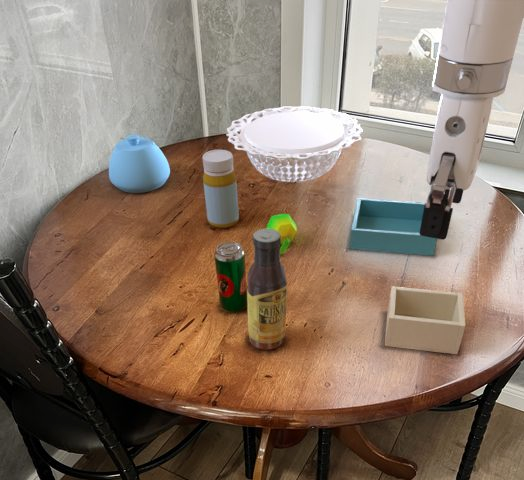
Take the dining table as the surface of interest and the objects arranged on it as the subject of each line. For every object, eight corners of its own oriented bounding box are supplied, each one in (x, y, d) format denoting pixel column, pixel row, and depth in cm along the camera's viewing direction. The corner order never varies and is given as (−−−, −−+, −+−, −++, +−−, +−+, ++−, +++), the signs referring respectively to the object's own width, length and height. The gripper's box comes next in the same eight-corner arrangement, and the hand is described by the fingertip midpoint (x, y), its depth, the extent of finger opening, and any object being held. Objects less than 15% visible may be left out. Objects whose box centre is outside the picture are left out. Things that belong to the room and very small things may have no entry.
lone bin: (455, 321, 93) (462, 293, 89) (457, 354, 87) (465, 326, 83) (387, 313, 95) (391, 286, 91) (384, 346, 89) (389, 317, 85)
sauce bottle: (261, 357, 88) (256, 252, 74) (241, 336, 92) (233, 233, 78) (294, 342, 90) (295, 238, 77) (274, 322, 94) (271, 220, 81)
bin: (432, 221, 117) (436, 203, 114) (433, 256, 107) (437, 236, 104) (355, 216, 120) (357, 197, 117) (349, 248, 110) (351, 229, 107)
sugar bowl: (99, 190, 134) (88, 144, 126) (131, 166, 144) (122, 121, 136) (152, 199, 129) (144, 151, 122) (181, 173, 140) (175, 127, 132)
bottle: (242, 214, 122) (237, 149, 112) (235, 230, 117) (230, 163, 107) (212, 212, 124) (205, 148, 113) (204, 228, 119) (196, 162, 108)
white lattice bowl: (378, 200, 125) (385, 146, 116) (245, 221, 120) (242, 166, 111) (332, 147, 148) (334, 99, 139) (219, 163, 143) (214, 114, 134)
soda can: (248, 312, 96) (244, 255, 88) (220, 315, 96) (213, 257, 88) (247, 295, 100) (243, 239, 92) (219, 297, 100) (213, 241, 92)
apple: (273, 201, 111) (291, 221, 105) (295, 215, 115) (313, 234, 108) (253, 229, 113) (269, 250, 107) (275, 242, 117) (291, 263, 111)
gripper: (497, 104, 51) (458, 258, 62) (517, 54, 62) (481, 193, 74) (417, 95, 53) (394, 246, 65) (450, 49, 64) (426, 184, 76)
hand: (440, 217), depth 69 cm, fingers open, 9 cm apart
